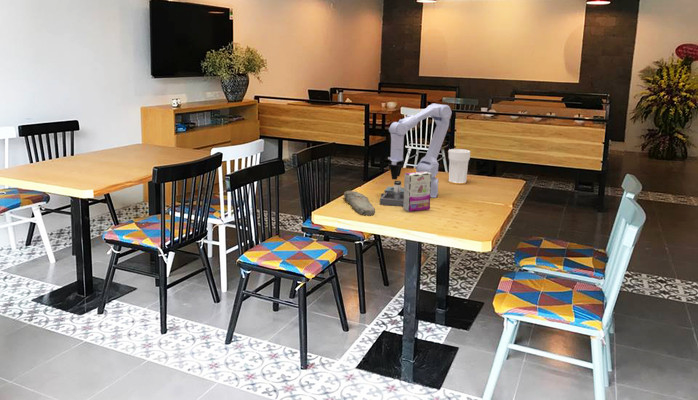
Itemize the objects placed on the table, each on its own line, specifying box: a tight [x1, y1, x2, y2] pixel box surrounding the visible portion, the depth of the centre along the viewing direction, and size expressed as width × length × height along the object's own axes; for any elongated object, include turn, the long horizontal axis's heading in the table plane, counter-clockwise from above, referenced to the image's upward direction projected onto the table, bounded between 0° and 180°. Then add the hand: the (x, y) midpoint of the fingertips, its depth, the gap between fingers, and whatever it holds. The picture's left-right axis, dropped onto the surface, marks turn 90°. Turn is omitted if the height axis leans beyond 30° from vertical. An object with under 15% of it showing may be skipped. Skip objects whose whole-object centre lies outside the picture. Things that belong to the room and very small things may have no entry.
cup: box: [447, 148, 471, 186], centre depth 317 cm, size 11×11×17 cm
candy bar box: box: [402, 171, 431, 213], centre depth 259 cm, size 11×5×16 cm, turn 117°
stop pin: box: [393, 180, 402, 200], centre depth 271 cm, size 3×3×9 cm
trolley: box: [380, 186, 404, 198], centre depth 284 cm, size 14×9×7 cm
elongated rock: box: [343, 190, 376, 217], centre depth 265 cm, size 35×5×10 cm
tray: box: [379, 192, 404, 208], centre depth 272 cm, size 13×13×3 cm
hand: (395, 177), depth 276 cm, fingers open, 7 cm apart
